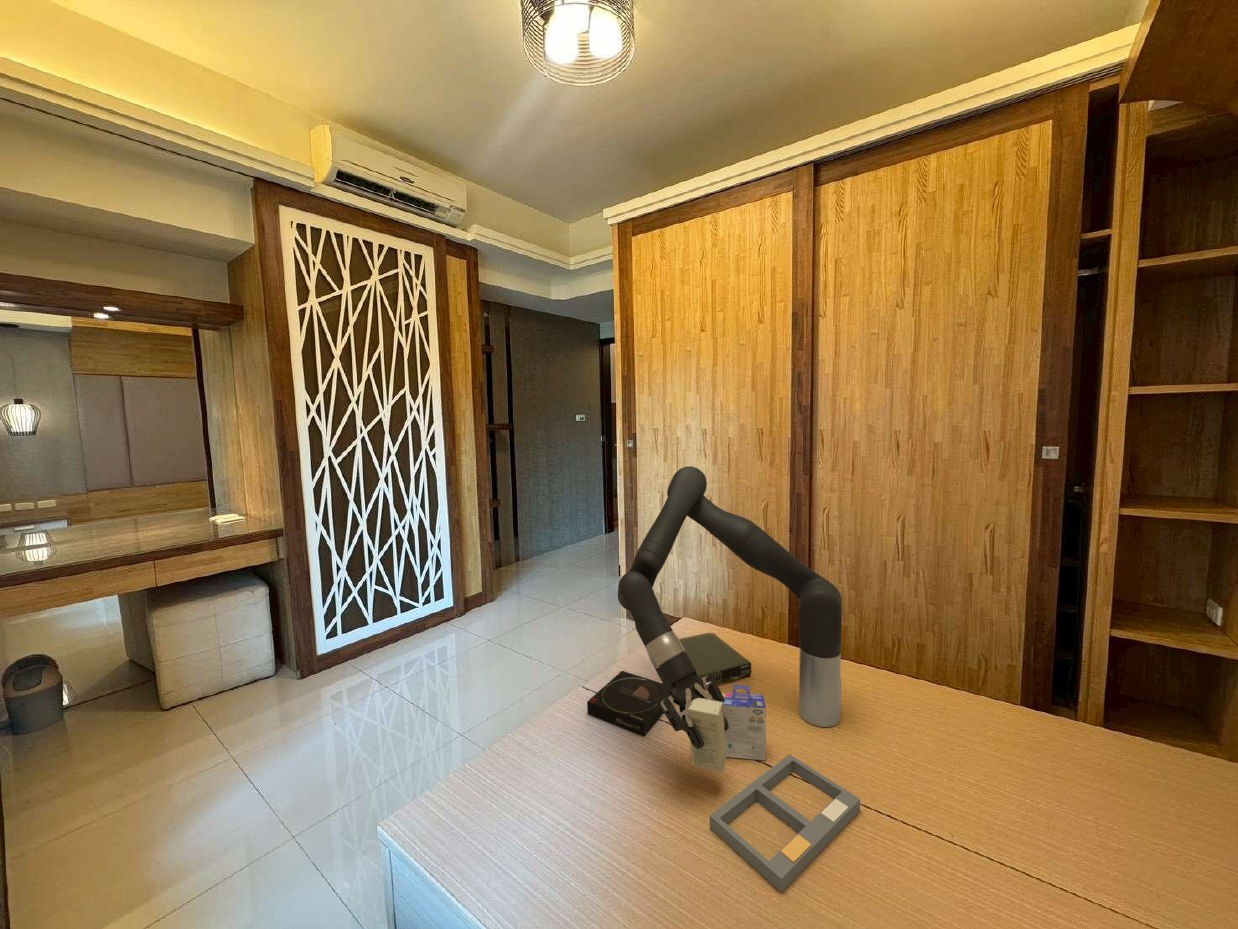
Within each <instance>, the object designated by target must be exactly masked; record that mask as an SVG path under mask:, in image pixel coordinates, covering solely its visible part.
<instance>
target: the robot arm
mask: <svg viewBox="0 0 1238 929" xmlns="http://www.w3.org/2000/svg"><path fill="white" fill-rule="evenodd" d="M707 487H708V482H707V478H706V475H705V473H704V472H703V471H702V470H701V469H699V468H698V467H695V466H684V467H680V468H679V469H678V470H677V471H676V472H675V473H674V474H673V476H672V478H671V480H670V483H669V484H668V486H667V491H666V496H667V498H666V500H665V502H664V504H663V506H662V508H661V510H660V512H659V514H658V515H657V517H656V519H655V520H654V522H653V523H652V525H651V527H650V529H649V530H648V532H647V534H646V535H645V537H644V539H643V541H642V542H641V544H640V546H639V547H638V549H637V551H636V554H635V556H634V559H633V563H632V565H631V567H630V569H629V570H628V572H626V573H623V574H624V575H622V576H621V578H620V580H619V581H618V585H617V599H618V603H619V604H620V606H622V607H623V609H625V610H627V611H629V612H630V615H632V618H633V620H634V626H635V627H634V628H635V630H636V632H637V634H638V637H639V638H640V640H641V642H642V644H643V646H644V647H645V650H646V653H647V656H648V658H649V659H650V662H651V664H652V665H653V667H654V669H655V671H656V673H657V675H658V677H659V679H660V680H661V683H663V685H664V687H665V688H666V689H667V690H668V692H669V697H668V698H666V699H664V700H663V701H661V702H660V704H659V705H660V707H661V709H662V711H663V712H664V714H663V715H664V716H665V717H666V719H667V720H668V722H669V723H670V725H671V727H672V729H673V730H674V731H675V732H678V731H683V732H685V733H686V735H687V737H688V740H689V742H690V741H691V743H692V745H693V746H694V747H696V748H697V749H700V748H702V747H703V746H704V745H705V744H704V741H703V740H702V738H701V736H700V734H699V732H698V730H697V728H696V726H693V720H692V717H691V716H690V715H689V711H688V708H689V706H691V705H692V701H693V700H694V699H697V698H703V699H709V700H714V701H719V702H724V701H725V699H724V697H723V695H722V693H721V692H722V690H721V689H720V687H719V684H718V685H717V683H716V681H715V679H714V677H713V675H712V674H709V675H707V676H706V677H704V678H700V677H699V676H698V675H697V673H696V668H695V666H694V664H693V663H692V661H691V659H690V657H689V656H688V654H687V652H686V650H685V649H684V647H683V645H682V643H681V642H680V640H679V639H680V638H679V637H678V636H677V635H676V633H675V632H674V630H673V628H672V626H671V625H670V623H669V621H668V619H667V618H666V616H665V615H664V613H663V611H662V608H661V607H660V603H659V601H658V599H657V597H656V594H655V591H654V588H653V586H654V585H655V582H656V580H657V578H658V575H659V574H660V572H661V570H662V569H663V567H664V565H665V564H666V561H667V559H668V557H669V555H670V553H671V551H672V549H673V547H674V545H675V542H676V539H677V537H678V535H679V533H680V531H681V528H682V527H683V525H684V522H685V520H686V518H687V517H688V518H689V519H691V520H693V521H694V522H696V524H698V525H700V526H701V527H702V528H704V529H705V530H706V531H708V533H710V535H712V536H713V537H714V538H716V539H717V540H718V541H719V542H720V543H722V544H723V545H724V546H725V547H726V548H727V549H729V550H730V551H731V553H733V554H734V555H735V556H736V557H737V558H739V559H740V560H741V561H742V562H743V563H745V564H746V565H748V566H749V567H751V568H752V569H754V570H755V571H758V572H760V573H762V574H765V575H767V576H769V577H770V578H773V579H774V580H777V581H778V582H780V583H781V584H783V585H784V587H786V588H787V589H788V590H789V591H790V592H791V593H792V594H794V596H796V597H797V599H799V601H798V639H799V658H798V659H799V663H798V664H799V666H798V667H799V668H798V669H799V675H798V676H799V677H798V678H799V679H798V680H799V682H798V683H799V684H798V685H799V687H798V691H799V692H798V712H799V715H800V717H801V718H802V719H803V720H804V721H805V722H807V723H809V724H811V725H814V726H816V727H821V728H831V727H834V726H836V725H838V724H839V722H840V719H841V718H840V717H841V714H842V712H841V711H842V677H841V672H842V671H841V667H842V665H841V663H842V659H841V658H842V656H841V655H842V619H843V618H842V616H843V612H842V610H843V608H842V606H843V605H842V604H843V603H842V602H843V599H842V595H841V592H840V591H839V589H838V588H837V587H836V585H834V584H833V583H832V582H830V581H829V580H828V579H826V578H825V577H823V576H821V575H820V574H819V573H817V572H815V571H814V570H812V569H811V568H809V567H808V566H806V565H805V564H804V563H803V562H801V561H799V559H797V558H796V557H795V556H793V554H792V553H790V551H788V550H787V549H786V548H785V547H784V546H783V545H781V544H780V543H779V542H777V541H776V540H775V539H774V538H773V537H772V536H771V535H769V534H768V533H767V532H766V531H764V530H763V529H762V528H761V527H760V526H759V525H757V524H756V523H755V522H753V521H751V520H750V519H748V518H745V517H744V516H740V515H738V514H734V513H731V512H729V511H726V510H723V509H722V508H720V507H718V506H717V505H716V504H715V503H713V502H712V501H711V500H710V499H709V498H707V497H706V496H705V493H706V490H707ZM704 688H705V689H706V690H705V689H704ZM675 704H676V705H677V708H678V711H677V710H676V707H675ZM728 725H729V724H728V721H727V719H726V718H725V716H724V728H725V731H726V730H728V729H729V726H728Z"/></svg>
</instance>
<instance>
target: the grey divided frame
mask: <svg viewBox="0 0 1238 929" xmlns="http://www.w3.org/2000/svg"><path fill="white" fill-rule="evenodd" d="M793 772H794V774H796V775H797V776H799V777H801V778H802V779H804V780H805V781H807V782H808V783H810V784H812V786H815V787H816V788H817V789H819V790H820V791H821V792H823V793H825V794H826V795H828V796H830V798H832V799H833V800H832V801H830V803H828V804H827V805H826V806H825V808H823V809H822V810H821V811H820V812H819V813H818V814H817V815H816V816H815V817H813V819H812V820H809V819H808V818H807V817H805V816H804V815H802V814H801V813H800V812H799V811H797V810H796V809H795V808H793V807H792V806H790V805H789V803H788V804H787V803H786V802H785V801H784V800H782V799H781V798H780V797H778V796H777V795H775V794H774V793H773V792H772V791H771V790H772V789H773V788H774V787H775V786H777V785H778V784H779V783H780V782H782V781H783V780H784V779H785V778H787V777H788V776H789V775H790V774H792V773H793ZM756 802H757V803H758V804H760V805H761V806H763V807H764V808H765V809H767V811H769V812H770V813H771V814H773V815H774V816H775V817H777V818H778V819H780V820H781V821H782V822H784V823H785V824H786V825H787V826H788V827H790V828H791V829H793V830H794V831H795V832H797V834H796V835H794V837H793V838H791V839H790V841H789V842H787V843H786V844H785V845H784V846H783V847H782V848H781V849H780V850H779V851H778V852H777V853H776V854H775V855H774V856H773V857H771V859H770V860H768V859H767V858H766V857H765V856H763V854H761V852H759V851H758V849H756V848H755V847H753V845H752V844H750V843H749V842H748V841H747V840H745V838H743V836H741V835H739V834H738V832H736V831H735V830H734V829H733V828H732V827H731V826H729V824H730V823H731V822H733V821H734V820H735V819H736V818H737V817H738V816H740V815H741V814H742V813H743V812H745V811H746V810H747V809H749V808H750V807H751V806H752V805H753V804H754V803H756ZM860 812H861V798H860V797H858V796H856V795H855V794H853V793H851V792H850V791H848V790H847V789H845V788H843V787H842V786H841V785H839V784H838V783H836V782H834V781H833V780H831V779H830V778H828V777H826V776H824V775H823V774H821V773H820V772H819V771H817V770H815V769H814V768H812V767H810V766H809V765H807V764H806V763H804V762H803V761H801V760H799V759H798V758H796V757H795V756H793V755H792V754H790V753H789V754H787V755H786V756H785V757H784V758H782V759H781V760H779V761H778V762H777V763H776V764H774V765H773V766H772V767H771V768H769V769H768V770H767V771H765V772H764V773H763V774H761V775H760V776H759V777H757V778H756V779H755V780H753V781H752V782H751V783H750V784H748V786H746V787H745V788H744V789H742V790H740V791H739V792H738V793H737V794H735V795H734V796H733V797H731V798H730V799H729V800H728V801H726V802H725V803H724V804H722V805H721V806H720V807H719V808H717V809H716V810H715V811H713V812H712V813H711V814H709V828H710V830H711V831H713V832H714V833H715V834H716V836H718V837H719V838H720V839H721V840H723V842H725V843H726V844H727V845H728V846H729V847H730V848H731V849H733V851H735V852H736V853H737V854H738V855H739V857H740V858H742V859H743V860H744V861H745V862H747V863H748V865H750V866H751V867H752V868H753V869H754V870H755V871H756V872H757V873H759V875H761V876H762V877H763V878H764V879H765V880H766V881H767V882H769V884H770V885H771V886H773V887H774V888H775V889H776V890H777V891H778V892H779V893H780V894H782V893H783V892H784V891H785V890H787V888H788V887H789V886H790V885H791V884H792V883H793V882H794V880H796V879H797V877H799V875H800V874H801V873H803V871H804V870H805V869H806V868H807V867H808V866H809V865H810V864H811V863H812V862H813V861H814V859H816V857H818V855H819V854H820V853H822V851H824V849H825V848H826V847H828V845H829V844H830V843H831V842H832V841H833V840H834V839H835V838H836V837H837V836H838V835H839V834H841V832H842V830H844V828H845V827H847V825H848V824H850V822H851V821H853V819H854V818H855V817H856V816H857V815H858V813H860Z"/></svg>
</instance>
